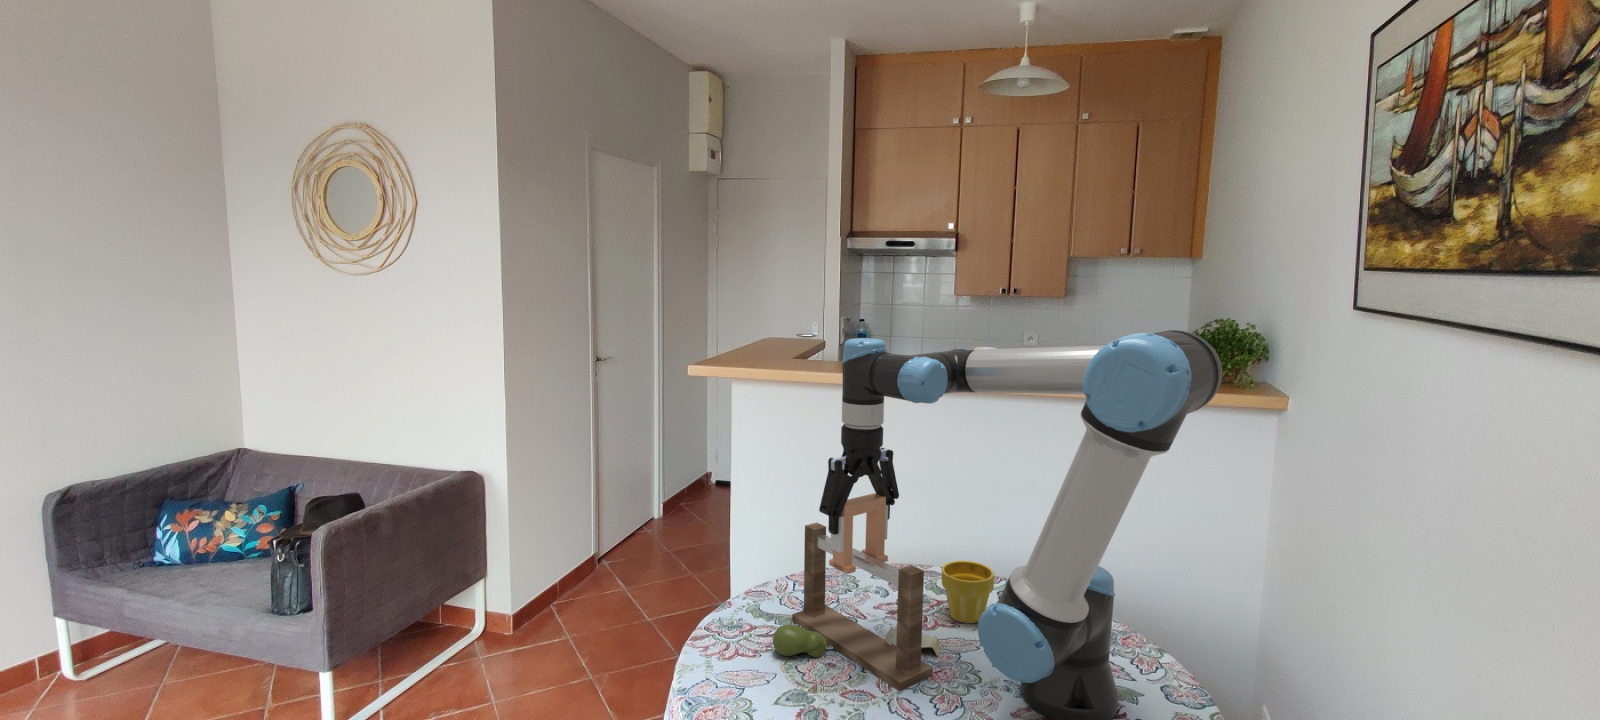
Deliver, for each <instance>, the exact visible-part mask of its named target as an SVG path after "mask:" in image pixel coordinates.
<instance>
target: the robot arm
mask: <svg viewBox="0 0 1600 720" xmlns="http://www.w3.org/2000/svg"><path fill="white" fill-rule="evenodd" d="M886 346H887V345H886V342H885V341H884V340H882V339H878V338H870V337H855V338H849V339H848V340H846V341H845V342H844V344H843V353H842V361H841V364H842V368H841V369H842V392H841V393H842V395H841V398H842V400H841V422H842V423H843V425H842V426H841V428H840V429H841V431H840V433H841V435H840V443H841V446H842V455H841V457H838V458H834V457H830V458H828V461H827V464H828V465H827V468H828V471H827V475H826V479H825V483H824V488H823V490H822V491H823V492H822V497H821V499H820V500H821V501H820V505H819V509H818V511H819V513H821V514H824V515H826V516H828V527H827V528H828V529H827V530H828V533H830V538H831V549H833V550H835V551H837V552H839V553H842V552H844V517H843V516H841V513H842V511H843V508H844V506H845V504H846V501H847V500H848V499H849V496H850V495H851V492H852V490H853V487H854V485H855V484H856V483H857V482H858V480H859V478H862V477H864V476H867V477H868V479H869V481H870V483H871V486H872V489H873V490H874V493H876V494H879V495H881V496H884V497H886V512H885V540H888V530H889V529H888V525H889V524H888V520H890V519H891V516H890V515H891V506H894V505H895V503H896V500H898V499H899V498H900V494H899V493H900V492H899V488H898V483H897V476H896V472H895V466H894V462H893V461H894V450H893V449H888V448H885V447H883V445H884V427H883V426H882V425H883V424H884V421H885V418H884V415H885V414H884V413H885V397H887V398H892V399H897V400H903V401H906V402H907V401H908V402H911V403H912V404H913V403H914V404H919V403H920V404H928V405H929V404H935V403H936V402H938V401H939V400H940V399H941V398H942V397H943V396H944V394H952V393H996V394H997V393H1002V394H1003V393H1005V394H1044V395H1046V394H1048V395H1049V394H1050V395H1085V402H1084V405H1083V407H1082V409H1081V411H1080V418H1081V421H1082V422H1083V424H1084V427H1085V432H1084V433H1083V437H1082V439H1081V441H1080V443H1079V446H1078V448H1077V450H1076V453H1075V455H1074V457H1073V459H1072V462H1071V464H1070V466H1069V469H1068V471H1067V473H1066V475H1065V477H1064V479H1063V482H1062V484H1061V486H1060V489H1059V492H1058V494H1057V495H1056V498H1055V500H1054V503H1053V504H1052V507H1051V509H1050V512H1049V514H1048V516H1047V518H1046V520H1045V521H1044V525H1043V527H1042V529H1041V532H1040V534H1039V536H1038V538H1037V541H1036V543H1035V545H1034V547H1033V550H1032V552H1031V554H1030V556H1029V559H1028V562H1027V563H1026V565H1021V566H1018V567H1016V568H1014V569H1013V570H1012V572H1011V573H1010V575H1009V577H1008V580H1007V582H1006V584H1005V586H1004V588H1003V591H1002V592H1001V594H1000V595H1001V596H1000V597H999V599H997V600H998V601H996V602H995V603H992V604H989V606H986V609H985V611H984V612H983V613H982V615H981V616H980V619H979V622H977V635H978V639H979V643H980V645H981V646H982V647H983V653H984V655H985V656H986V658H987V659H988V660H989V662H990V663H991V665H992V666H994V667H995V669H996V670H998V671H999V672H1000V673H1001V674H1003V675H1004V676H1005V677H1007V678H1009V679H1011V680H1012V681H1015V682H1017V683H1020V689H1019V690H1020V695H1021V697H1022V698H1023V700H1024V702H1026V704H1027V705H1028V706H1029V707H1031V708H1032V709H1033V710H1035V711H1036V712H1037V713H1039V714H1041V715H1043V716H1044V717H1047V718H1049V719H1052V720H1112V719H1114V717H1116V715H1117V714H1118V709H1119V693H1118V692H1119V691H1118V689H1117V686H1116V682H1115V678H1114V675H1113V671H1112V667H1111V662H1110V652H1111V651H1110V649H1111V640H1112V638H1111V637H1112V624H1113V612H1114V600H1115V596H1116V593H1115V579H1114V577H1113V575H1112V574H1111V573H1110V572H1109V571H1108V570H1106V569H1105V568H1103V567H1102V566H1100V563H1101V561H1102V559H1103V557H1104V554H1105V553H1106V550H1107V548H1108V546H1109V544H1110V543H1111V540H1112V538H1113V536H1114V534H1115V532H1116V530H1117V528H1118V525H1119V524H1120V522H1121V519H1122V518H1123V516H1124V514H1125V511H1126V510H1127V507H1128V506H1129V503H1130V502H1131V499H1132V497H1133V494H1134V493H1135V491H1136V489H1137V486H1138V485H1139V482H1140V480H1141V478H1142V476H1143V475H1144V473H1145V470H1146V468H1147V466H1148V464H1149V462H1150V460H1151V458H1152V457H1155V456H1158V455H1162V454H1166V453H1168V452H1169V450H1170V449H1171V446H1172V444H1173V443H1174V441H1175V439H1176V436H1177V435H1178V433H1179V430H1180V429H1181V427H1182V425H1183V423H1184V421H1185V419H1186V417H1187V415H1188V414H1191V413H1194V412H1196V411H1199V410H1200V409H1202V408H1203V407H1204V406H1206V405H1207V404H1209V403H1210V401H1212V400H1213V399H1214V397H1215V396H1216V394H1217V393H1218V391H1219V389H1220V386H1221V383H1222V379H1223V367H1222V363H1221V359H1220V357H1219V354H1218V353H1217V352H1216V349H1214V347H1213V346H1212V345H1211V344H1210V343H1209V342H1208V341H1206V340H1205V339H1204V338H1203V337H1200V336H1199V335H1197V334H1195V333H1193V332H1188V331H1185V330H1179V329H1178V330H1177V329H1176V330H1174V329H1171V330H1163V331H1156V332H1152V333H1151V332H1142V333H1140V332H1139V333H1130V334H1127V335H1125V336H1121V337H1119V338H1117V339H1116V340H1115V339H1114V340H1113V341H1110V342H1109V343H1107V344H1105V345H1104V344H1103V345H1077V346H1050V347H1049V346H1046V347H1020V348H1019V347H1016V348H1014V347H1013V348H1012V347H1011V348H986V349H983V348H982V349H979V348H978V349H968V348H955V349H950V350H944V351H938V352H930V353H929V352H928V353H919V354H912V355H911V354H896V353H891V352H887V351H888V350H887V348H886ZM878 463H879V464H878ZM835 508H836V509H835Z"/></svg>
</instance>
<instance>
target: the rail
mask: <svg viewBox="0 0 1600 720" xmlns="http://www.w3.org/2000/svg"><path fill="white" fill-rule="evenodd" d="M816 547H818V548H820V549H822V550H824V551H826V553H829V554H830V555H832V556H833V549H831V536H828V535H827V534H826V535H821V536H817V537H816ZM852 565H854V566H856V568H859V569H861V570H862V571H865V572H867V573H868V574H871V575H873V576H875V577H878V578H879V579H880V580H883V581H886V582H887V583H889V584H890V585H893V586H895V587H897V588H898V575H899V569H900V568H896V567H894V566H893V565H890V564H888V563H886V562H882V561H880V560H878V559H876V558H873V557H871V556H869V555H867V554H865V553H863V552H862V551H860V550H858V549H856V548H853V547H852Z"/></svg>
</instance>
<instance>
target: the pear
mask: <svg viewBox="0 0 1600 720" xmlns="http://www.w3.org/2000/svg"><path fill="white" fill-rule="evenodd" d="M827 640H828V639H827V638H826V637H823V636H822V634H820V633H818V632H815V631H809V630H807V629H805V628H803V627H800V626H798V625H797V624H796V625H795V624H783V625H780V626H779V627H777V629H776V630H775V632H774V633H773V637H772V645H773V648H774V649H775V651H776V652H777V653H778V654H779V655H781V656H784V657H789V656H790V657H791V656H794V655H798V654H800V653H801V654H803V653H807V654H808V655H809V656H810V657H813V658H815V659H817V657H818V658H820V657H821V656H822V657H823V656H824V653H825V652H826V651H827V648H828V644H827ZM822 657H821V658H822Z"/></svg>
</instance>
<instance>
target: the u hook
mask: <svg viewBox="0 0 1600 720" xmlns="http://www.w3.org/2000/svg"><path fill="white" fill-rule="evenodd" d="M835 509H836V508H835ZM885 512H886V497H884V496H881V495H879V494H876V493H875V492H873V493H870V494H866V495H861V496H858V497H853V498H848V499H847V501H846V504H845V506H844V508H843V511H842V513H841V516H843V517H844V552H842V553H839V552H837V551H835V550H833V555H832V558H830V559H829V561H828V565H829V566H830V567H832V568H834V569H836V570H837V571H840V572H842V573H844V574H846V575H849V574H853V573H856V570H857V569H856V568H857V567H856V566H854V565H852V548H853V537H854V535H853V533H854V517H855V516H858V515H862V514H866V517H865V548H863V549H861V552H863V553H865V554H867V555H869V556H871V557H873V558H876V559H878V560H880V561H882V562H884V563H886V562H888V561H889V556H888V555H887V554H885V543H886V541H885Z"/></svg>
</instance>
